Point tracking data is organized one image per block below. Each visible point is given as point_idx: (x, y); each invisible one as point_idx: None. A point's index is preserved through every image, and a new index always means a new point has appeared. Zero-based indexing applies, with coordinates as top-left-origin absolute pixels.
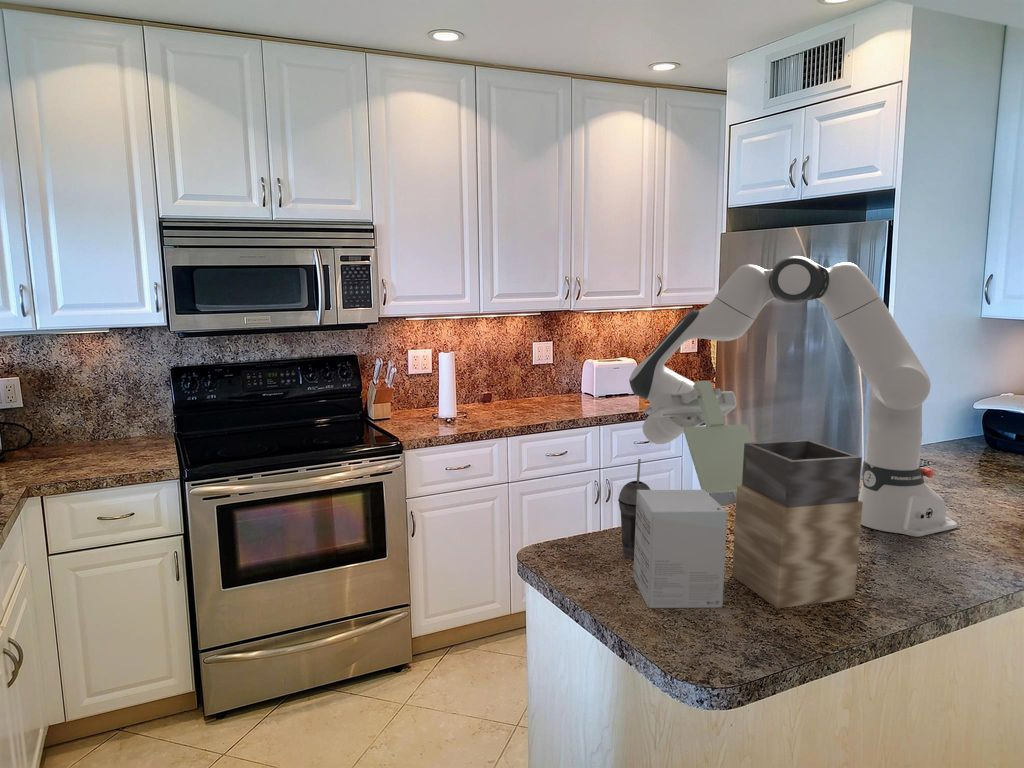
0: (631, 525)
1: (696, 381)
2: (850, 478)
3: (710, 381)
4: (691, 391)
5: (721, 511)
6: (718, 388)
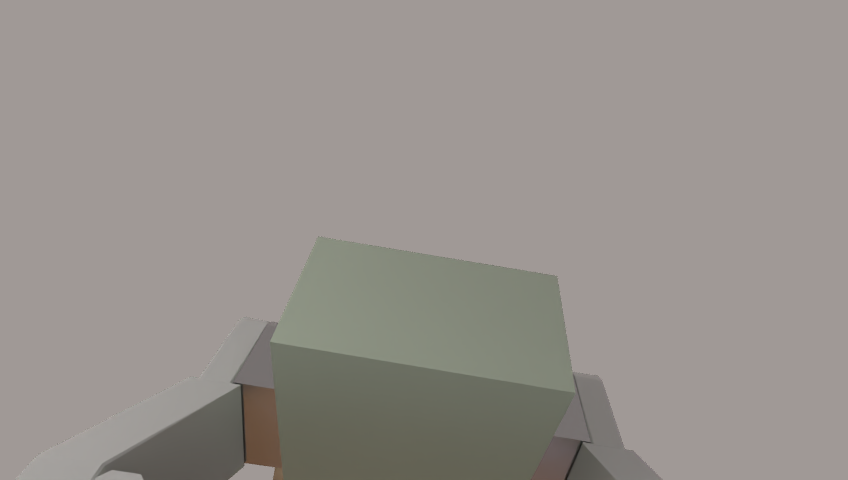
0: None
1: (556, 285)
2: None
3: (326, 251)
4: (618, 438)
5: None
6: (256, 319)
